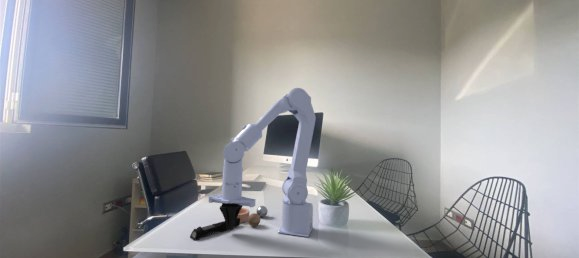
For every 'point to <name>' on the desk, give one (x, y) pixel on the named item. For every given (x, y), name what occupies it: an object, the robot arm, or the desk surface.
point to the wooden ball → (254, 220)
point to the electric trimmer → (210, 229)
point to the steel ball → (262, 211)
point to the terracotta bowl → (243, 215)
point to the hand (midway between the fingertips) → (230, 229)
